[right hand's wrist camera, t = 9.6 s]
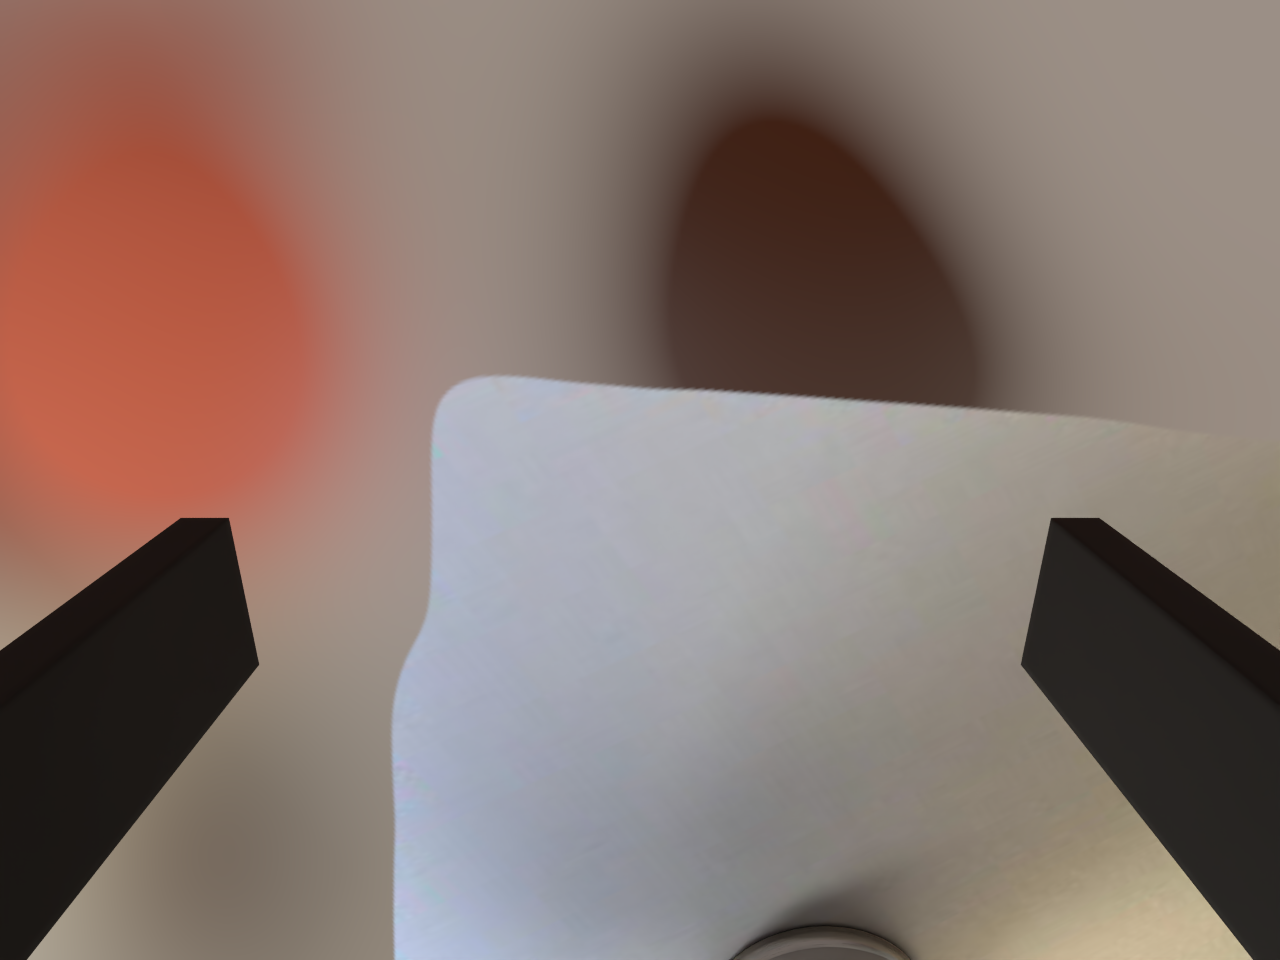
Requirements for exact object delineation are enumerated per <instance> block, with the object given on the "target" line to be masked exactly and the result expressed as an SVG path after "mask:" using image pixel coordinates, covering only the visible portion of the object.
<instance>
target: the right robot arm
mask: <svg viewBox="0 0 1280 960" xmlns="http://www.w3.org/2000/svg"><path fill="white" fill-rule="evenodd" d="M258 665H259V662H258V657H257V652H256V647H255V642H254V637H253V633H252V628H251V623H250V618H249V613H248V608H247V604H246V599H245V594H244V589H243V584H242V579H241V575H240V570H239V565H238V560H237V555H236V551H235V546H234V541H233V536H232V531H231V526H230V521H229V518H180V519H179V520H178V521H176V522H175V523H174V524H172V525H171V526H169V527H168V528H167V529H165V530H164V531H163V532H161V533H160V534H158V535H157V536H156V537H154V538H153V539H152V540H150V541H149V542H148V543H146V544H145V545H143V546H142V547H141V548H139V549H138V550H137V551H135V552H134V553H133V554H131V555H130V556H128V557H127V558H126V559H124V560H123V561H122V562H120V563H119V564H118V565H116V566H115V567H114V568H112V569H111V570H109V571H108V572H107V573H105V574H104V575H103V576H101V577H100V578H99V579H97V580H96V581H94V582H93V583H92V584H90V585H89V586H88V587H86V588H85V589H84V590H82V591H81V592H80V593H78V594H77V595H75V596H74V597H73V598H71V599H70V600H69V601H67V602H66V603H65V604H63V605H62V606H60V607H59V608H58V609H56V610H55V611H54V612H52V613H51V614H49V615H48V616H47V617H45V618H44V619H43V620H41V621H40V622H39V623H37V624H36V625H35V626H33V627H32V628H30V629H29V630H28V631H26V632H25V633H24V634H22V635H21V636H20V637H18V638H17V639H15V640H14V641H13V642H11V643H10V644H9V645H7V646H6V647H5V648H3V649H2V650H0V960H27V959H28V957H29V956H30V955H31V954H32V952H33V951H34V950H35V949H36V947H37V946H38V945H39V943H40V942H41V941H42V940H43V938H44V937H45V936H46V935H47V933H48V932H49V931H50V930H51V928H52V927H53V926H54V924H55V923H56V922H57V921H58V919H59V918H60V917H61V915H62V914H63V913H64V912H65V910H66V909H67V908H68V907H69V905H70V904H71V903H72V902H73V900H74V899H75V898H76V896H77V895H78V894H79V893H80V891H81V890H82V889H83V888H84V886H85V885H86V884H87V882H88V881H89V880H90V879H91V877H92V876H93V875H94V874H95V872H96V871H97V870H98V869H99V867H100V866H101V865H102V864H103V862H104V861H105V860H106V858H107V857H108V856H109V855H110V853H111V852H112V851H113V850H114V848H115V847H116V846H117V844H118V843H119V842H120V841H121V839H122V838H123V837H124V836H125V834H126V833H127V832H128V830H129V829H130V828H131V827H132V825H133V824H134V823H135V822H136V820H137V819H138V818H139V816H140V815H141V814H142V813H143V811H144V810H145V809H146V808H147V806H148V805H149V804H150V803H151V801H152V800H153V799H154V797H155V796H156V795H157V794H158V792H159V791H160V790H161V789H162V787H163V786H164V785H165V783H166V782H167V781H168V780H169V778H170V777H171V776H172V775H173V773H174V772H175V771H176V770H177V768H178V767H179V766H180V764H181V763H182V762H183V761H184V759H185V758H186V757H187V755H188V754H189V753H190V752H191V750H192V749H193V748H194V747H195V745H196V744H197V743H198V742H199V740H200V739H201V738H202V736H203V735H204V734H205V733H206V731H207V730H208V729H209V728H210V726H211V725H212V724H213V722H214V721H215V720H216V719H217V717H218V716H219V715H220V714H221V712H222V711H223V710H224V709H225V707H226V706H227V705H228V703H229V702H230V701H231V700H232V698H233V697H234V696H235V695H236V693H237V692H238V691H239V690H240V688H241V687H242V686H243V684H244V683H245V682H246V681H247V679H248V678H249V677H250V676H251V674H252V673H253V672H254V670H255V669H256V668H257V667H258ZM1021 665H1022V667H1023V668H1024V669H1025V670H1026V672H1027V673H1028V674H1029V676H1030V677H1031V678H1032V679H1033V681H1034V682H1035V683H1036V684H1037V686H1038V687H1039V688H1040V690H1041V691H1042V692H1043V693H1044V695H1045V696H1046V697H1047V698H1048V700H1049V701H1050V702H1051V703H1052V705H1053V706H1054V707H1055V709H1056V710H1057V711H1058V712H1059V714H1060V715H1061V716H1062V717H1063V719H1064V720H1065V721H1066V723H1067V724H1068V725H1069V726H1070V728H1071V729H1072V730H1073V731H1074V733H1075V734H1076V735H1077V736H1078V738H1079V739H1080V740H1081V742H1082V743H1083V744H1084V745H1085V747H1086V748H1087V749H1088V750H1089V752H1090V753H1091V754H1092V756H1093V757H1094V758H1095V759H1096V761H1097V762H1098V763H1099V764H1100V766H1101V767H1102V768H1103V770H1104V771H1105V772H1106V773H1107V775H1108V776H1109V777H1110V778H1111V780H1112V781H1113V782H1114V783H1115V785H1116V786H1117V787H1118V789H1119V790H1120V791H1121V792H1122V794H1123V795H1124V796H1125V797H1126V799H1127V800H1128V801H1129V803H1130V804H1131V805H1132V806H1133V808H1134V809H1135V810H1136V811H1137V813H1138V814H1139V815H1140V817H1141V818H1142V819H1143V820H1144V822H1145V823H1146V824H1147V825H1148V827H1149V828H1150V829H1151V830H1152V832H1153V833H1154V834H1155V836H1156V837H1157V838H1158V839H1159V841H1160V842H1161V843H1162V844H1163V846H1164V847H1165V848H1166V850H1167V851H1168V852H1169V853H1170V855H1171V856H1172V857H1173V858H1174V860H1175V861H1176V862H1177V864H1178V865H1179V866H1180V867H1181V869H1182V870H1183V871H1184V872H1185V874H1186V875H1187V876H1188V877H1189V879H1190V880H1191V881H1192V883H1193V884H1194V885H1195V886H1196V888H1197V889H1198V890H1199V891H1200V893H1201V894H1202V895H1203V897H1204V898H1205V899H1206V900H1207V902H1208V903H1209V904H1210V905H1211V907H1212V908H1213V909H1214V910H1215V912H1216V913H1217V914H1218V916H1219V917H1220V918H1221V919H1222V921H1223V922H1224V923H1225V924H1226V926H1227V927H1228V928H1229V930H1230V931H1231V932H1232V933H1233V935H1234V936H1235V937H1236V938H1237V940H1238V941H1239V942H1240V944H1241V945H1242V946H1243V947H1244V949H1245V950H1246V951H1247V952H1248V954H1249V955H1250V956H1251V957H1252V959H1253V960H1280V650H1278V649H1277V648H1275V647H1274V646H1273V645H1271V644H1270V643H1269V642H1267V641H1266V640H1265V639H1263V638H1262V637H1260V636H1259V635H1258V634H1256V633H1255V632H1254V631H1252V630H1251V629H1250V628H1248V627H1247V626H1246V625H1244V624H1243V623H1241V622H1240V621H1239V620H1237V619H1236V618H1235V617H1233V616H1232V615H1231V614H1229V613H1228V612H1226V611H1225V610H1224V609H1222V608H1221V607H1220V606H1218V605H1217V604H1216V603H1214V602H1213V601H1211V600H1210V599H1209V598H1207V597H1206V596H1205V595H1203V594H1202V593H1201V592H1199V591H1198V590H1196V589H1195V588H1194V587H1192V586H1191V585H1190V584H1188V583H1187V582H1186V581H1184V580H1183V579H1182V578H1180V577H1179V576H1177V575H1176V574H1175V573H1173V572H1172V571H1171V570H1169V569H1168V568H1167V567H1165V566H1164V565H1162V564H1161V563H1160V562H1158V561H1157V560H1156V559H1154V558H1153V557H1152V556H1150V555H1149V554H1147V553H1146V552H1145V551H1143V550H1142V549H1141V548H1139V547H1138V546H1137V545H1135V544H1134V543H1132V542H1131V541H1130V540H1128V539H1127V538H1126V537H1124V536H1123V535H1122V534H1120V533H1119V532H1118V531H1116V530H1115V529H1113V528H1112V527H1111V526H1109V525H1108V524H1107V523H1105V522H1104V521H1103V520H1101V519H1100V518H1051V521H1050V526H1049V531H1048V536H1047V541H1046V545H1045V550H1044V555H1043V560H1042V565H1041V570H1040V575H1039V579H1038V584H1037V589H1036V594H1035V599H1034V604H1033V608H1032V613H1031V618H1030V623H1029V628H1028V633H1027V637H1026V642H1025V647H1024V652H1023V657H1022V662H1021ZM733 960H910V959H909V958H908V957H907V955H906V954H904V953H903V952H902V951H901V950H900V949H899V948H897V947H896V946H895V945H893V944H891V943H890V942H888V941H886V940H884V939H882V938H880V937H878V936H876V935H873V934H870V933H867V932H864V931H860V930H856V929H851V928H844V927H832V926H818V927H806V928H800V929H794V930H790V931H786V932H782V933H779V934H776V935H773V936H771V937H768V938H766V939H763V940H761V941H759V942H757V943H755V944H754V945H752V946H750V947H749V948H747V949H746V950H744V951H743V952H741V953H740V954H739V955H738V956H736V957H735V958H734V959H733Z"/></svg>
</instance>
